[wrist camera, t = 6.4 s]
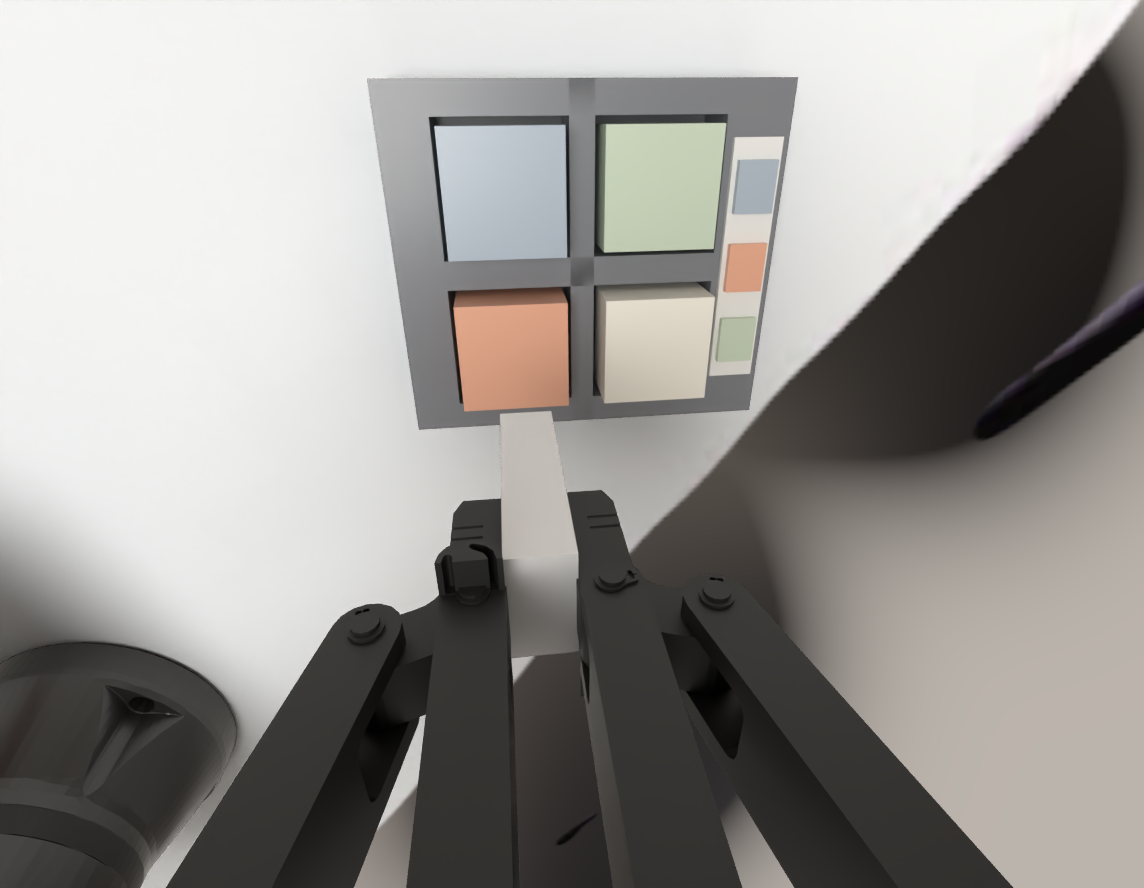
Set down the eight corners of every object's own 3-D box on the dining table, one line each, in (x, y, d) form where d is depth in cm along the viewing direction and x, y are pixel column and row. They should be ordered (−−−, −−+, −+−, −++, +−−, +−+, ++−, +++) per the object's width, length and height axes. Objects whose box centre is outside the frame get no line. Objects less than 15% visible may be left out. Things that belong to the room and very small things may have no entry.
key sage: (692, 236, 27) (713, 249, 25) (593, 239, 27) (603, 252, 24) (702, 122, 25) (726, 122, 22) (594, 123, 25) (606, 124, 22)
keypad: (724, 382, 32) (752, 413, 29) (426, 398, 31) (417, 434, 27) (761, 82, 26) (804, 76, 22) (382, 83, 24) (364, 77, 21)
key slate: (559, 243, 26) (567, 257, 23) (453, 246, 26) (448, 261, 23) (557, 124, 24) (565, 124, 21) (440, 125, 23) (434, 126, 21)
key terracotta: (562, 379, 29) (568, 405, 26) (467, 384, 29) (464, 411, 26) (560, 285, 27) (567, 303, 24) (457, 288, 26) (453, 307, 24)
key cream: (685, 373, 30) (704, 397, 27) (594, 377, 29) (604, 403, 27) (693, 280, 28) (715, 297, 25) (595, 283, 27) (606, 301, 24)
